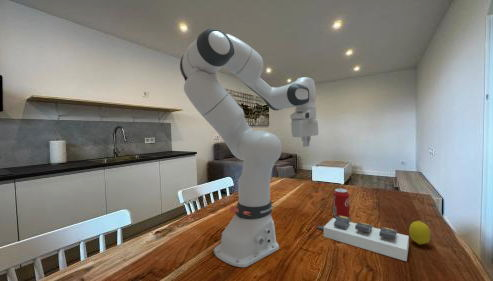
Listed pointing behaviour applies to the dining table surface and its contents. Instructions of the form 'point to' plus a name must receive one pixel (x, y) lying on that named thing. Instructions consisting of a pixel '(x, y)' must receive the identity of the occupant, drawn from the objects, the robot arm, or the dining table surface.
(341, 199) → the beverage can
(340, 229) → the rocker switch panel
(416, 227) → the lemon
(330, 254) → the dining table surface
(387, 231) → the rocker
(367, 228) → the rocker
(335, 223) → the rocker
